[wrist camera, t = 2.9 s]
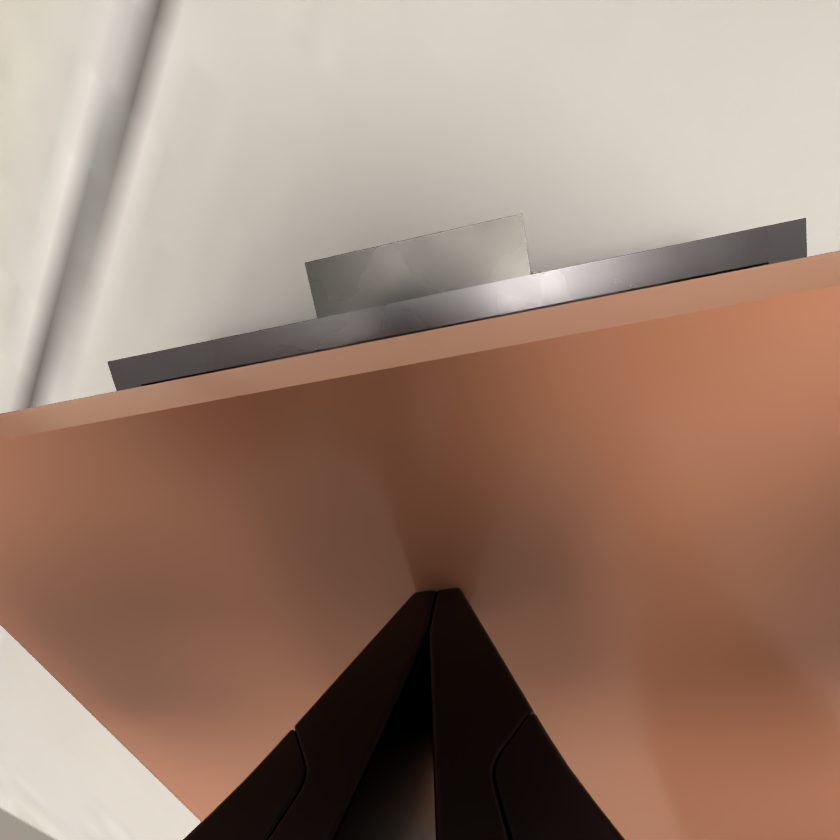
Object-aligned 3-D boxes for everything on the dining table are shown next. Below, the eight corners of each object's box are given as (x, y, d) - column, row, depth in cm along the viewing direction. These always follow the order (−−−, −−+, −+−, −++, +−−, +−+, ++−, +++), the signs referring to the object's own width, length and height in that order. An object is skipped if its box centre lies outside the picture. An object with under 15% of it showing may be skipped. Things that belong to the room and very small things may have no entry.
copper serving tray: (822, 793, 14) (853, 847, 12) (253, 814, 16) (239, 859, 15) (1080, 203, 6) (1216, 215, 5) (-85, 430, 9) (-158, 468, 8)
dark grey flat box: (728, 665, 18) (819, 789, 14) (304, 697, 21) (253, 810, 16) (697, 196, 15) (804, 141, 10) (194, 307, 18) (88, 304, 13)
